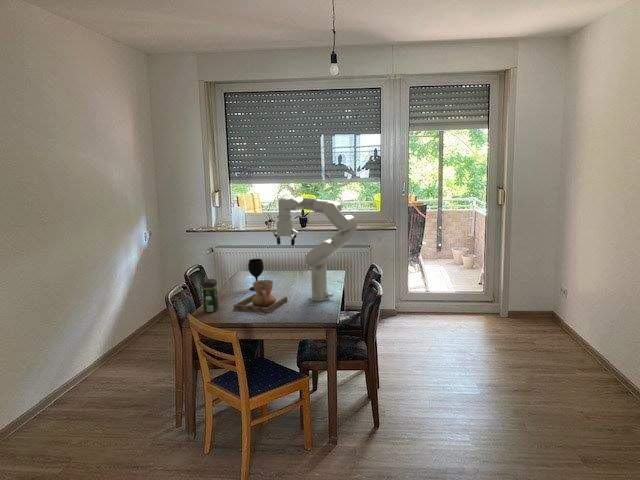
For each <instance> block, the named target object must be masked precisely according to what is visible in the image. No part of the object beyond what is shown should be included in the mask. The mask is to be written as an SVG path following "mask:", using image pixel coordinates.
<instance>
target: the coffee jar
mask: <svg viewBox="0 0 640 480" xmlns="http://www.w3.org/2000/svg"><path fill="white" fill-rule="evenodd" d="M201 289H202V298H203V301H202V302H203V303H202V304H203V312H205V313H216V312H217V311H218V310H219V308H220V307H219V306H220V305H219V297H218V296H219V295H218V282H217V280H216V279H215V278H207V279H206V280H204V281H202V283H201Z"/></svg>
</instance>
